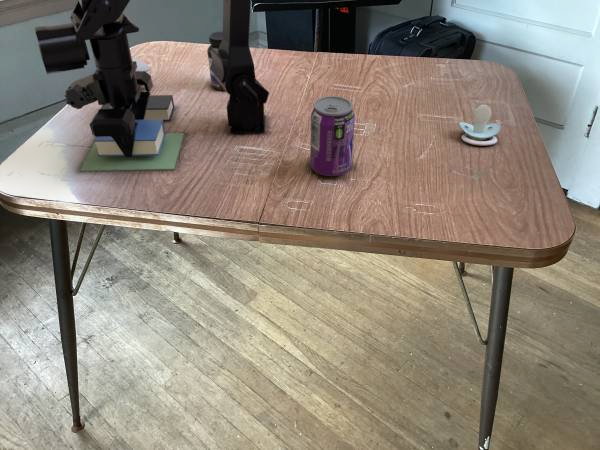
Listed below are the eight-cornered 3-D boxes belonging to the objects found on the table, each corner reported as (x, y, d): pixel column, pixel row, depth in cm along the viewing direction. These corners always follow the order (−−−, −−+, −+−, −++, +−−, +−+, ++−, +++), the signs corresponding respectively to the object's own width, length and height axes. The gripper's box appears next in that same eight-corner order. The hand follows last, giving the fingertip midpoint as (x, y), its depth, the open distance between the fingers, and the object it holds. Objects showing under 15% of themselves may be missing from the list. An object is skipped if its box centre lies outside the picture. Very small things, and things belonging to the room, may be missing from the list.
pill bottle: (241, 79, 121) (238, 30, 114) (236, 91, 116) (232, 41, 109) (214, 78, 121) (209, 29, 114) (208, 90, 117) (202, 40, 110)
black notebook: (174, 107, 111) (172, 95, 109) (170, 121, 107) (167, 108, 105) (110, 108, 111) (107, 95, 109) (103, 122, 106) (100, 109, 105)
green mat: (184, 134, 103) (183, 133, 102) (174, 170, 93) (173, 168, 93) (99, 135, 102) (98, 134, 102) (80, 171, 93) (80, 169, 93)
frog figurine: (121, 83, 120) (114, 52, 115) (154, 80, 121) (148, 50, 116) (120, 95, 115) (112, 64, 111) (153, 92, 116) (147, 61, 112)
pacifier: (500, 149, 99) (495, 131, 103) (509, 118, 94) (503, 101, 99) (459, 146, 99) (456, 129, 104) (466, 116, 95) (462, 99, 100)
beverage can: (348, 181, 91) (352, 117, 83) (306, 177, 92) (307, 113, 84) (353, 159, 96) (358, 96, 88) (314, 154, 97) (315, 92, 89)
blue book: (165, 134, 100) (162, 119, 98) (158, 155, 94) (155, 139, 92) (108, 135, 100) (104, 120, 98) (98, 156, 94) (93, 140, 92)
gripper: (80, 40, 94) (101, 120, 104) (43, 88, 80) (72, 176, 90) (144, 39, 94) (160, 119, 104) (119, 87, 80) (140, 174, 90)
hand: (133, 145), depth 97 cm, fingers closed on blue book, 7 cm apart
